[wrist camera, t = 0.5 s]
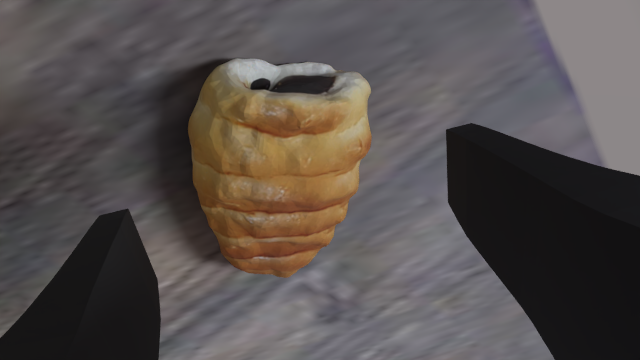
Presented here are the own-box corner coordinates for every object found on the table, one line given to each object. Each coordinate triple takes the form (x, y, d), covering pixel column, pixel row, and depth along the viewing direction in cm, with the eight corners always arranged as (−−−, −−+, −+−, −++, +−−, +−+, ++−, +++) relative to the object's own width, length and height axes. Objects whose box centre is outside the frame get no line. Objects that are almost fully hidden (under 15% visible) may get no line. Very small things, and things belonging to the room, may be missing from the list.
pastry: (335, 249, 27) (358, 305, 23) (189, 256, 25) (191, 317, 22) (365, 55, 22) (397, 92, 19) (187, 48, 20) (189, 88, 17)
